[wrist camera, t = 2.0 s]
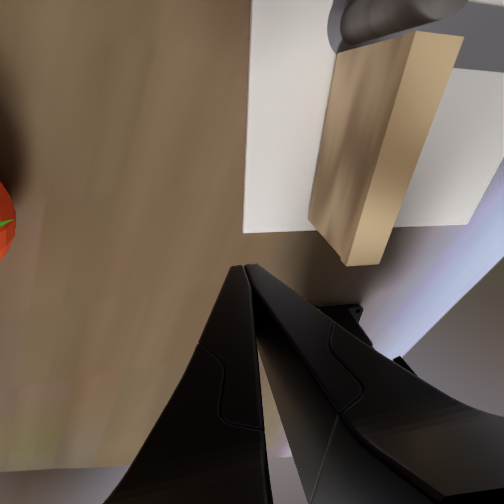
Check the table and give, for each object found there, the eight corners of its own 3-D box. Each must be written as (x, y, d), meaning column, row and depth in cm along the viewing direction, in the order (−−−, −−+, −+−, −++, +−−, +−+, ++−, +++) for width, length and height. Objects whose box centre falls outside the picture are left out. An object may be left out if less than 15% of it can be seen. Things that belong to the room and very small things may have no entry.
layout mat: (462, 222, 21) (468, 225, 20) (242, 230, 17) (243, 233, 17) (701, -232, 10) (722, -246, 10) (267, -428, 7) (271, -461, 7)
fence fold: (330, 218, 17) (379, 264, 13) (305, 219, 17) (346, 266, 12) (368, 56, 13) (464, 36, 8) (334, 52, 13) (416, 30, 8)
